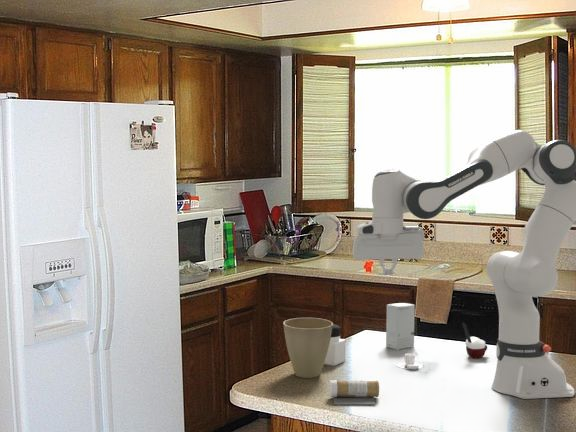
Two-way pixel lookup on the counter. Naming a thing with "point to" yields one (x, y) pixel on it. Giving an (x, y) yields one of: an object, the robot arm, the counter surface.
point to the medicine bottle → (335, 348)
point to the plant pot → (307, 344)
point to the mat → (354, 401)
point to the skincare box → (400, 325)
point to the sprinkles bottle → (353, 388)
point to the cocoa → (474, 345)
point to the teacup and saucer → (410, 362)
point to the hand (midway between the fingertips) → (388, 274)
